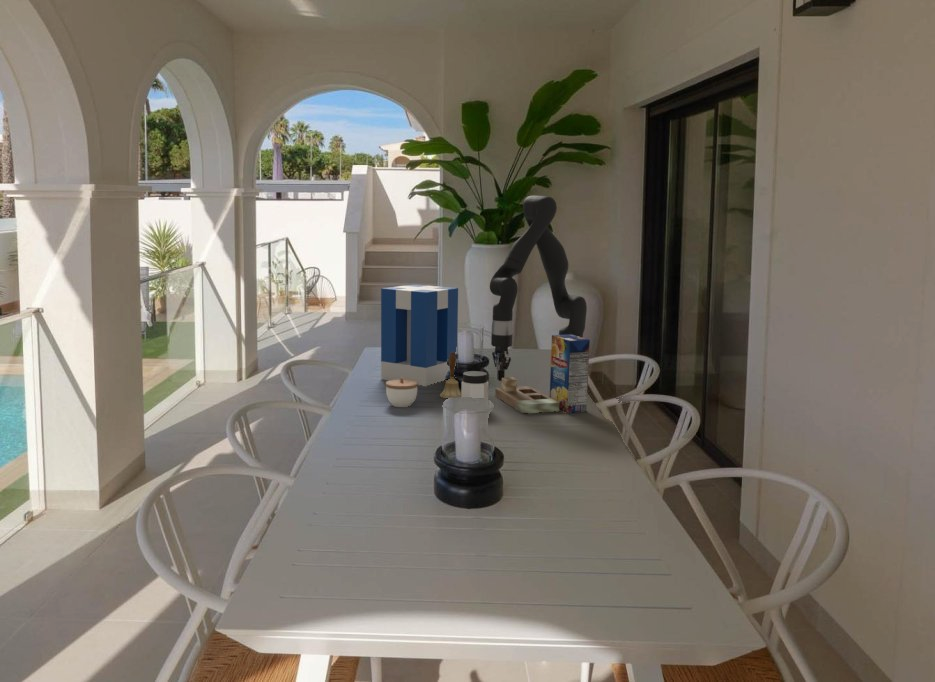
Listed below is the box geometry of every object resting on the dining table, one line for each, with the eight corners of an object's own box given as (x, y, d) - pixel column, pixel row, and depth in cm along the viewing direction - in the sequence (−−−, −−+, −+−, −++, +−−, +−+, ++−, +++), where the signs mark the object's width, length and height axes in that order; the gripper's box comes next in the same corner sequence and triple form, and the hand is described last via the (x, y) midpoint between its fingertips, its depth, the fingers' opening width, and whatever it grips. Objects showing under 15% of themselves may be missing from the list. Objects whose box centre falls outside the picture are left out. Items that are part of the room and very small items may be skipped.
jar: (492, 409, 262) (493, 374, 260) (473, 413, 256) (474, 377, 254) (475, 404, 268) (476, 369, 266) (456, 407, 263) (457, 372, 261)
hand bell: (467, 395, 281) (467, 351, 279) (456, 400, 274) (457, 354, 271) (446, 392, 285) (446, 348, 282) (435, 397, 278) (436, 352, 275)
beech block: (512, 388, 280) (512, 377, 279) (516, 390, 276) (516, 379, 276) (501, 389, 279) (501, 377, 278) (505, 391, 275) (506, 380, 274)
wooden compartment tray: (529, 394, 285) (529, 386, 284) (559, 411, 261) (559, 402, 261) (495, 396, 281) (495, 388, 280) (522, 413, 257) (522, 404, 257)
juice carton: (549, 404, 270) (551, 335, 266) (568, 403, 273) (571, 334, 269) (567, 413, 259) (569, 340, 255) (586, 411, 262) (589, 339, 258)
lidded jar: (422, 403, 269) (422, 376, 267) (410, 410, 259) (410, 382, 257) (393, 400, 272) (393, 373, 271) (380, 407, 262) (380, 379, 261)
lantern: (456, 376, 312) (458, 288, 306) (425, 386, 294) (426, 292, 288) (413, 370, 323) (414, 284, 317) (381, 379, 305) (381, 288, 299)
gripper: (518, 335, 277) (517, 383, 280) (505, 329, 289) (503, 376, 292) (498, 335, 274) (497, 384, 277) (485, 330, 287) (484, 377, 289)
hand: (500, 380), depth 284 cm, fingers closed
